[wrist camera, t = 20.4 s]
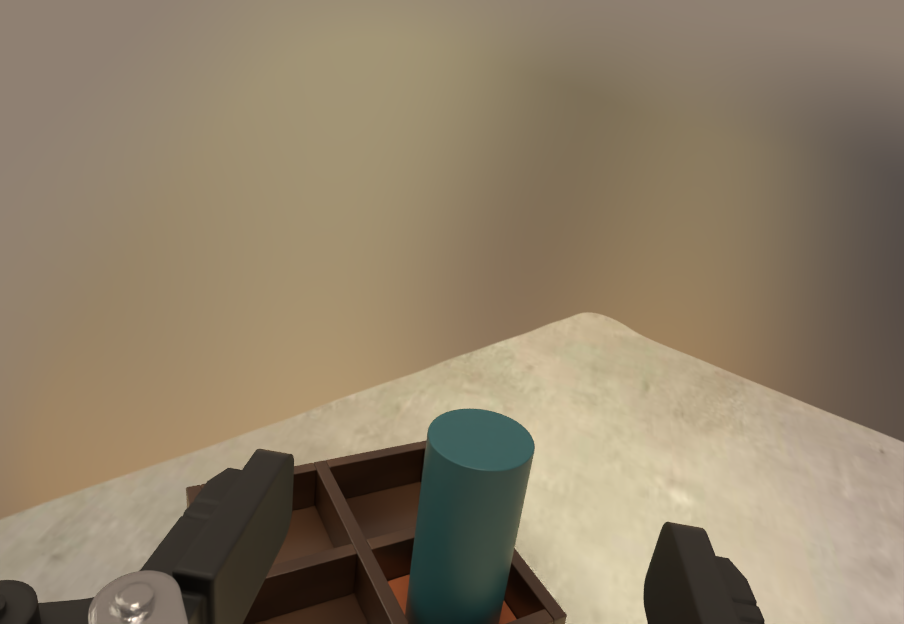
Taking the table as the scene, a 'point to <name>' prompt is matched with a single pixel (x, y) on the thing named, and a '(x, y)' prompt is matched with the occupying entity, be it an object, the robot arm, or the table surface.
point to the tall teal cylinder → (467, 517)
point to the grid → (364, 547)
